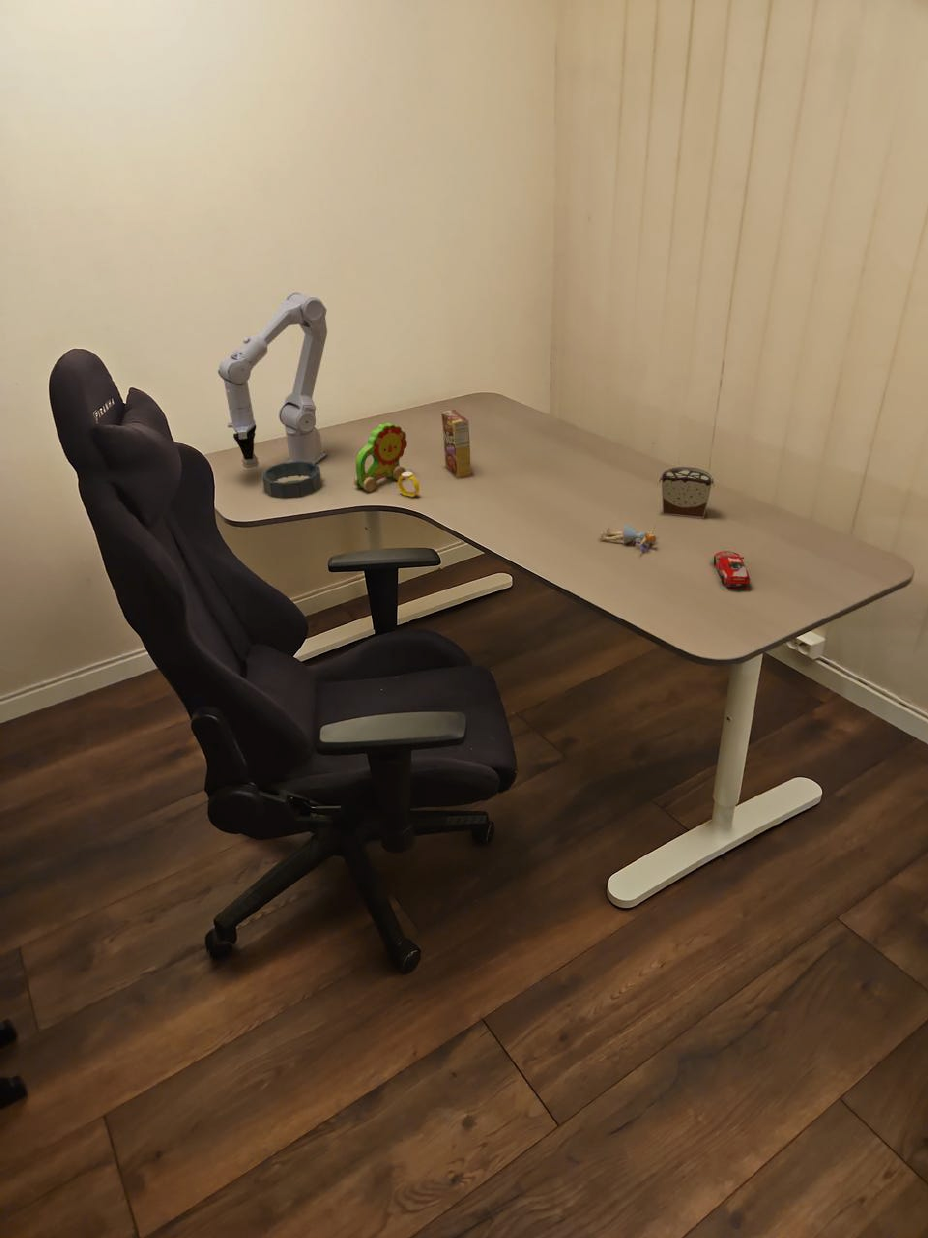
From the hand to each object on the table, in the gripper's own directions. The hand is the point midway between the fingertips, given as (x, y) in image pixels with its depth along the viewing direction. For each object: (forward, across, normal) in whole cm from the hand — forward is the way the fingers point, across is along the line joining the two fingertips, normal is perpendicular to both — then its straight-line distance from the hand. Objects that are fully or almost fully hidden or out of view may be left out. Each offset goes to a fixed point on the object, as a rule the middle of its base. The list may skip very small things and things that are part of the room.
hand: (249, 455), depth 234 cm
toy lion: (+6, +12, +34) cm, 37 cm away
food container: (+6, +47, +103) cm, 113 cm away
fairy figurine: (+6, +60, +85) cm, 104 cm away
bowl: (+6, +8, +11) cm, 15 cm away
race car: (+6, +78, +101) cm, 128 cm away
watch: (+6, +22, +40) cm, 46 cm away
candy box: (+6, +9, +54) cm, 55 cm away
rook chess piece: (+3, 0, 0) cm, 3 cm away
